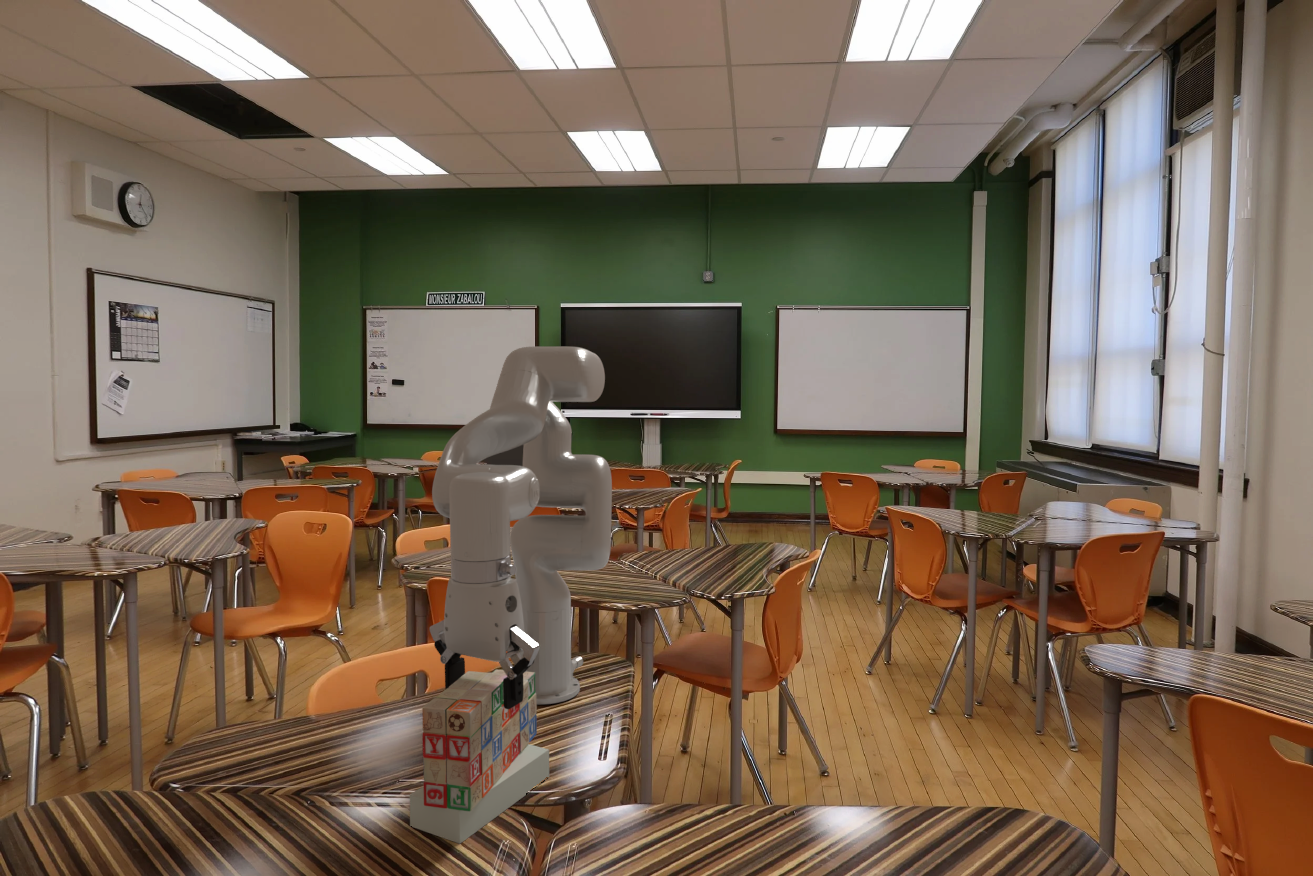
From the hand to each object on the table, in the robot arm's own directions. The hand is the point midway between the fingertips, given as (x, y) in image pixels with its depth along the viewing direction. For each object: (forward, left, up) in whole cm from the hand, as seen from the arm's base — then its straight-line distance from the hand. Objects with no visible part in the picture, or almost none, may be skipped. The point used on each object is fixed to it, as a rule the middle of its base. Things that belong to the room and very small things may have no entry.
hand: (483, 697), depth 103 cm
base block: (+1, 0, -14) cm, 14 cm away
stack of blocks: (0, 0, -10) cm, 10 cm away
